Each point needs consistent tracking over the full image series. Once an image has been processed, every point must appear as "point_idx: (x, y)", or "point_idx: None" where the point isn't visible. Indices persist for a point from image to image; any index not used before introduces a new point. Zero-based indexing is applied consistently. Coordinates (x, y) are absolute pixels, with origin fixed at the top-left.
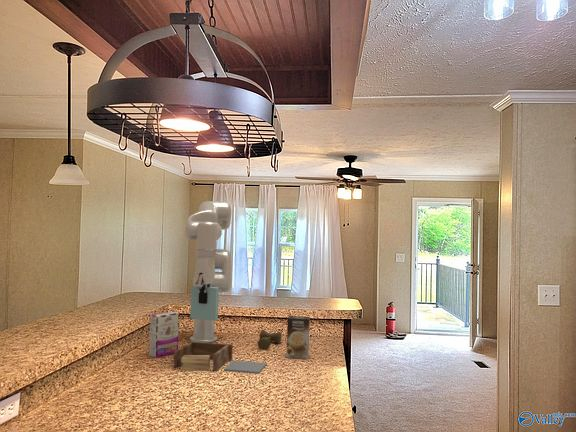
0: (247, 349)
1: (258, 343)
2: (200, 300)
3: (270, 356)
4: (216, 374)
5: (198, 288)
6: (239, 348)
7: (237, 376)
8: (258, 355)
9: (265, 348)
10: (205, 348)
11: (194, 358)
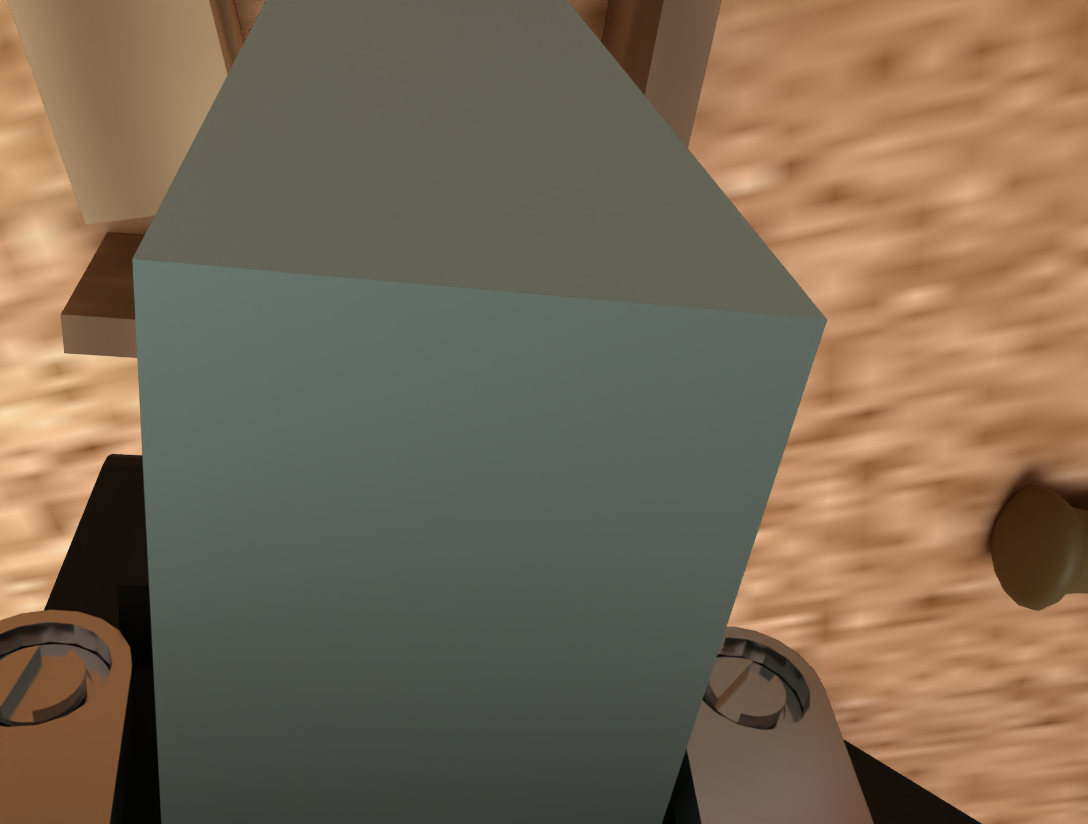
0: (1018, 386)
1: (1046, 510)
2: (110, 470)
3: (745, 606)
4: (11, 293)
5: (170, 694)
6: (1071, 303)
7: (26, 485)
8: (779, 516)
9: (993, 542)
10: (635, 46)
11: (21, 40)
